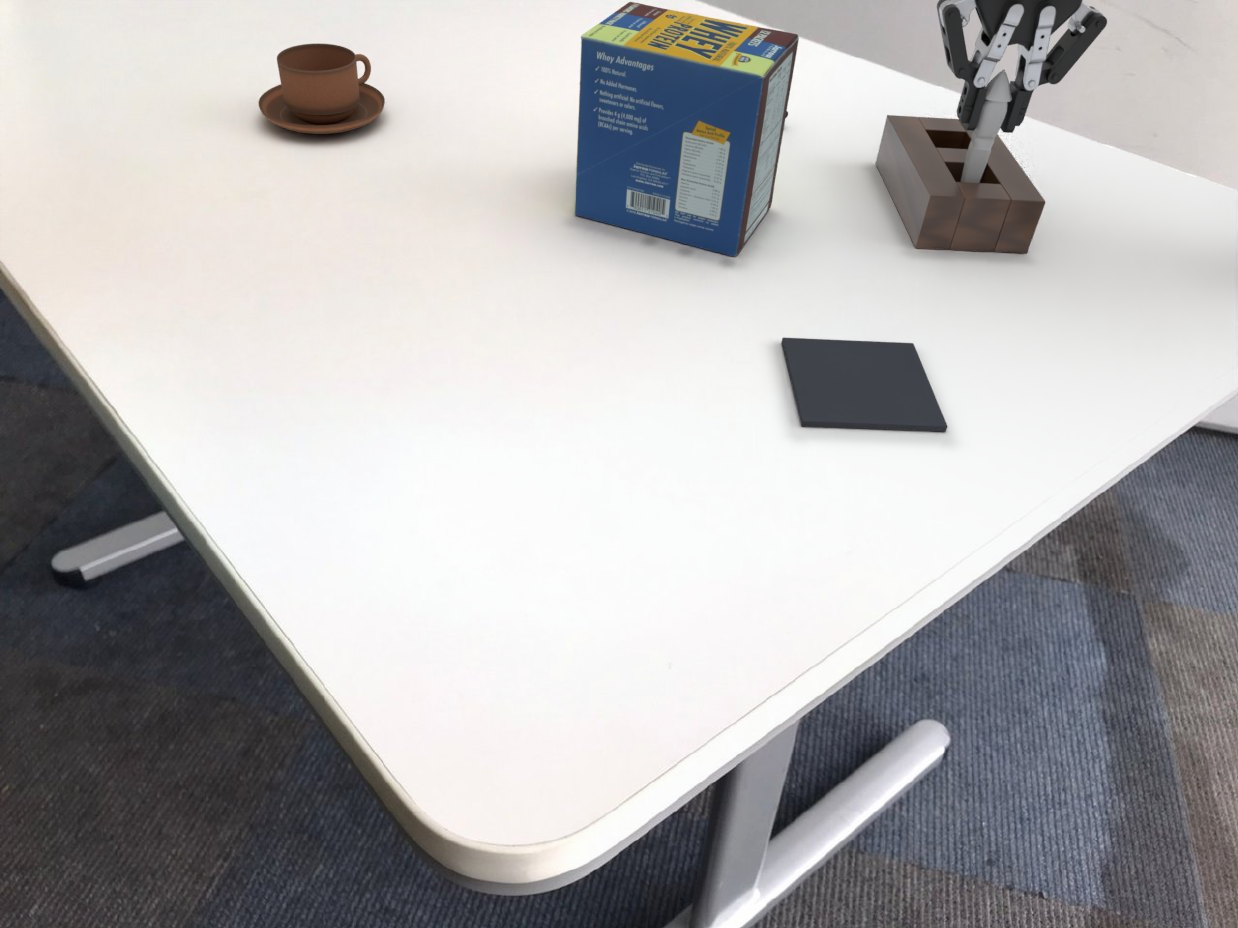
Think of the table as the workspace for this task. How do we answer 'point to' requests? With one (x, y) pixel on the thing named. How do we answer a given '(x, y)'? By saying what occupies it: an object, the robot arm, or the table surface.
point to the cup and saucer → (321, 91)
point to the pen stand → (956, 188)
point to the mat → (861, 385)
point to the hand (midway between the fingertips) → (986, 127)
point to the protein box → (681, 124)
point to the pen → (987, 127)
